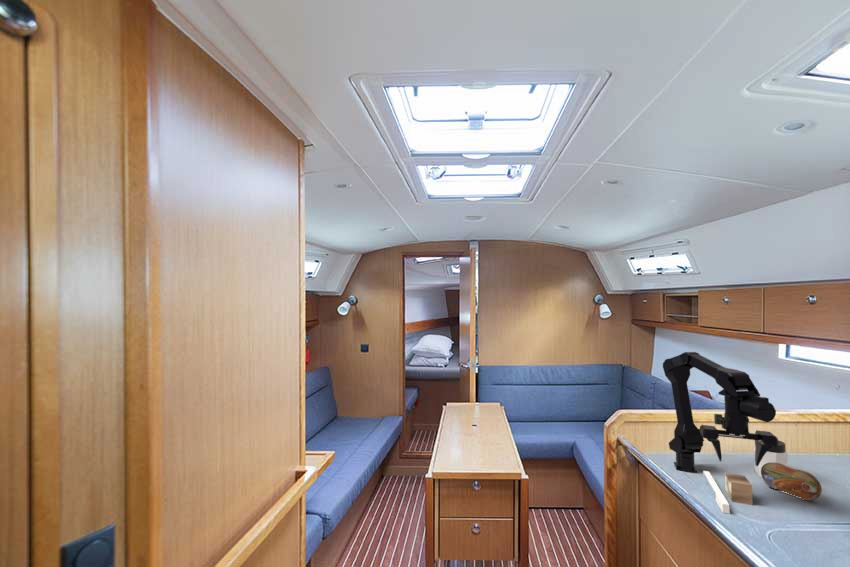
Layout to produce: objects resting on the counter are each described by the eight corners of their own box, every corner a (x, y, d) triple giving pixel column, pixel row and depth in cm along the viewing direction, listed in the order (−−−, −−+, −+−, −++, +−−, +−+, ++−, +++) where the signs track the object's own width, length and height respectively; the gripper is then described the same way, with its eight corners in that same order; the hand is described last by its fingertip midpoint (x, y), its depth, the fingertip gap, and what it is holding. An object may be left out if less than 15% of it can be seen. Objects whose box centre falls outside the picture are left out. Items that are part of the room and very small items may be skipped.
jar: (790, 477, 138) (789, 442, 139) (785, 484, 133) (784, 447, 134) (757, 468, 145) (756, 435, 146) (751, 475, 140) (750, 440, 141)
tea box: (752, 505, 120) (751, 485, 120) (731, 502, 122) (730, 482, 122) (745, 494, 127) (744, 475, 127) (725, 491, 129) (724, 472, 129)
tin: (760, 484, 134) (759, 458, 134) (766, 482, 135) (765, 457, 135) (818, 506, 119) (816, 477, 120) (824, 504, 121) (823, 475, 121)
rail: (702, 477, 138) (702, 470, 138) (709, 478, 137) (708, 471, 138) (721, 512, 116) (721, 503, 116) (729, 513, 115) (729, 504, 116)
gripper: (764, 408, 129) (766, 458, 128) (695, 403, 136) (696, 449, 136) (778, 418, 119) (780, 472, 118) (702, 411, 126) (704, 462, 125)
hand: (738, 463), depth 125 cm, fingers open, 9 cm apart
